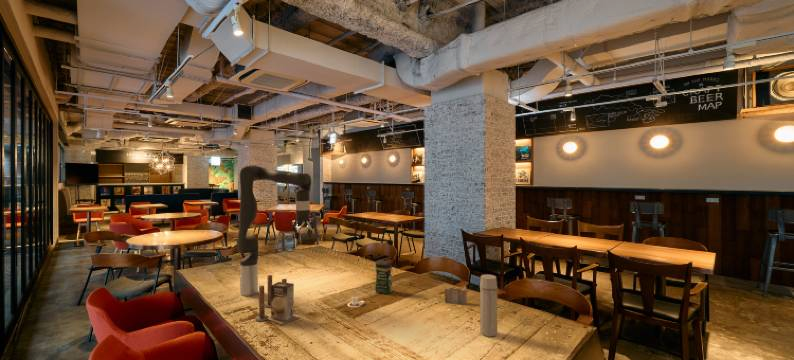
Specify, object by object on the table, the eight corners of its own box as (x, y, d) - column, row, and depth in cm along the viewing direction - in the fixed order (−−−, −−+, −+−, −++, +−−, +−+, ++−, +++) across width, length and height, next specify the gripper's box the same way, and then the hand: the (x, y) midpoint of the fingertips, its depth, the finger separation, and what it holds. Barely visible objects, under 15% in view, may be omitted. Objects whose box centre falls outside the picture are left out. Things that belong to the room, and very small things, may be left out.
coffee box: (270, 318, 170) (269, 285, 170) (277, 313, 176) (277, 281, 176) (286, 321, 168) (286, 287, 168) (294, 315, 174) (294, 283, 174)
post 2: (261, 306, 189) (261, 276, 188) (271, 302, 193) (271, 273, 193) (268, 308, 185) (268, 278, 185) (278, 305, 190) (278, 275, 190)
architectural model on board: (466, 303, 192) (466, 285, 192) (466, 305, 189) (466, 287, 189) (445, 301, 195) (445, 283, 195) (444, 303, 192) (444, 285, 192)
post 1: (252, 319, 171) (252, 286, 171) (263, 315, 176) (263, 283, 176) (260, 322, 168) (259, 289, 167) (271, 318, 172) (270, 285, 172)
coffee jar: (373, 293, 208) (373, 261, 208) (379, 289, 215) (379, 258, 215) (388, 295, 204) (388, 263, 204) (394, 291, 211) (393, 259, 211)
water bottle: (477, 330, 158) (477, 274, 157) (494, 329, 158) (494, 273, 158) (484, 340, 149) (483, 280, 148) (502, 339, 149) (502, 280, 149)
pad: (266, 319, 171) (266, 317, 171) (283, 312, 180) (283, 311, 180) (282, 325, 165) (282, 323, 164) (299, 318, 173) (299, 316, 173)
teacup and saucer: (366, 304, 192) (366, 296, 192) (358, 309, 185) (358, 301, 184) (352, 301, 196) (352, 294, 195) (344, 306, 188) (344, 298, 188)
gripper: (297, 210, 190) (297, 240, 190) (317, 208, 202) (317, 236, 202) (288, 209, 194) (288, 239, 195) (308, 207, 206) (308, 235, 206)
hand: (303, 238), depth 198 cm, fingers open, 8 cm apart
